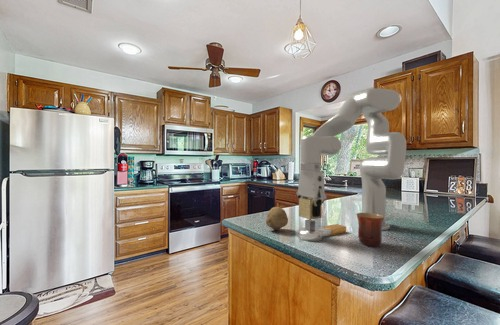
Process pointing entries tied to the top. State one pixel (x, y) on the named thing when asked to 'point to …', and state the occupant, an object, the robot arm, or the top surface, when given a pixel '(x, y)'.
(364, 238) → the mug
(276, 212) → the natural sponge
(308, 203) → the beige wooden block
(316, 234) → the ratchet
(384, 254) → the top surface
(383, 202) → the robot arm
